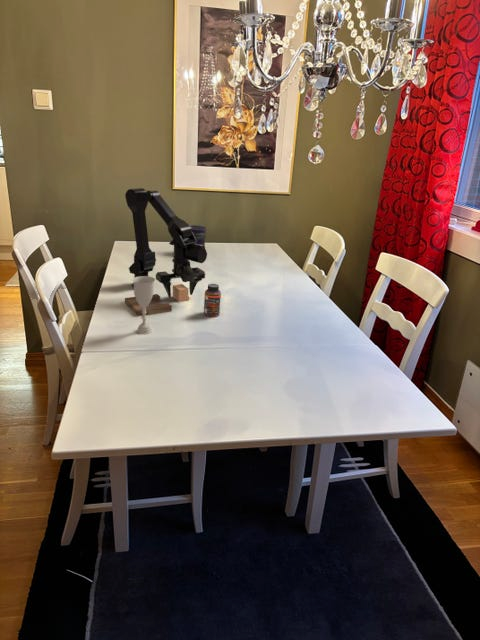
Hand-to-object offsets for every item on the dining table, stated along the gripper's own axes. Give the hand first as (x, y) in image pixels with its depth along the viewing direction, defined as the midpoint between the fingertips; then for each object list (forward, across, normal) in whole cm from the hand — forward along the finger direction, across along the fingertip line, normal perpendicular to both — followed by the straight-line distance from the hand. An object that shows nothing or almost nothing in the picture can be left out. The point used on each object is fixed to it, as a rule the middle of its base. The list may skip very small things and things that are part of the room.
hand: (180, 296), depth 193 cm
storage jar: (+1, +33, +54) cm, 63 cm away
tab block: (+1, 0, 0) cm, 1 cm away
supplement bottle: (+1, +4, -19) cm, 19 cm away
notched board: (+1, -15, -4) cm, 16 cm away
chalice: (+1, -24, -24) cm, 34 cm away
